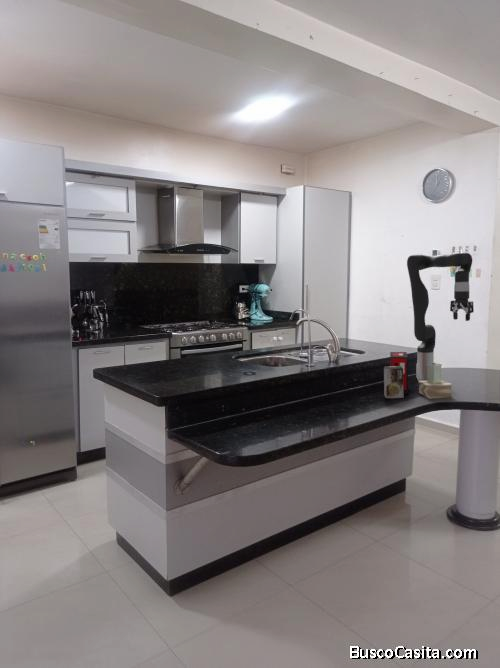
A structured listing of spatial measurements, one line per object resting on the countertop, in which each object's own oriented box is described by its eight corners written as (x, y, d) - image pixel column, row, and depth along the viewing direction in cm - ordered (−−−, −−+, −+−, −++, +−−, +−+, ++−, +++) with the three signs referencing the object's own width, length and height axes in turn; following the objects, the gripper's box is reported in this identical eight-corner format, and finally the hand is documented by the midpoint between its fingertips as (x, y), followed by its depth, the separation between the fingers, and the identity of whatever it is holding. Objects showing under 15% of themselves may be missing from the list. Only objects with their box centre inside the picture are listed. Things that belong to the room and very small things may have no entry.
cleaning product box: (407, 393, 263) (407, 357, 260) (390, 393, 265) (390, 357, 262) (406, 386, 278) (406, 352, 276) (390, 386, 281) (390, 352, 278)
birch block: (418, 393, 263) (418, 380, 262) (440, 391, 264) (440, 379, 263) (428, 399, 250) (428, 386, 249) (452, 397, 251) (452, 384, 250)
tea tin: (426, 382, 257) (426, 363, 256) (434, 380, 259) (434, 362, 258) (433, 384, 253) (433, 365, 251) (441, 382, 255) (441, 364, 253)
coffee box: (401, 395, 260) (401, 365, 258) (403, 398, 254) (403, 367, 252) (383, 395, 261) (383, 366, 259) (386, 398, 254) (385, 368, 252)
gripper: (446, 290, 267) (446, 319, 269) (466, 290, 253) (466, 321, 255) (457, 289, 269) (457, 318, 271) (477, 290, 256) (477, 320, 258)
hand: (461, 320), depth 263 cm, fingers open, 8 cm apart
